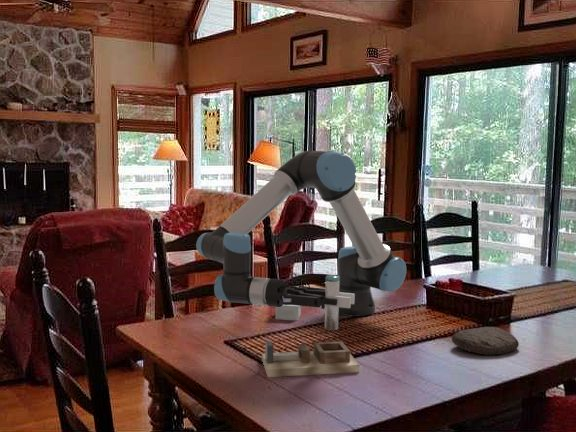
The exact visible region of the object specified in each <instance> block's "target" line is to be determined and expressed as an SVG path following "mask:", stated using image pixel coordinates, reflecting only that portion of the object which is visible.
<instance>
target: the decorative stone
mask: <svg viewBox="0 0 576 432" xmlns="http://www.w3.org/2000/svg"><path fill="white" fill-rule="evenodd" d="M451 341H452V343H453V344H454V345H455V346H457V348H459V349H461V350H465V351H467V352H471V353H475V354H479V355H485V356H486V355H487V356H488V355H489V356H490V355H501V354H507V353H509V352H510V353H511V352H513V351H515V350H516V349H517V348H519V345H520V344H519V341H518V339H517V338H516V337H515V336H514V335H513V334H512V333H510V332H508V331H506V330H505V329H502V328H499V327H495V326H483V327H482V326H481V327H475V328H468V329H463V330H460V331H459V330H458V331H457V332H455V333H453V335H452V336H451Z"/></svg>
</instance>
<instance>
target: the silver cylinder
mask: <svg viewBox="0 0 576 432" xmlns="http://www.w3.org/2000/svg"><path fill="white" fill-rule="evenodd" d="M339 278H340V277H339V276H338V275H336V274H335V275H334V274H330V275H326V276H325V289H326V291H325V298H326V295H332V296H339ZM339 315H340V314H339V307H333V306H326V304H325V308H324V329H325V330H327V331H338V330H339Z"/></svg>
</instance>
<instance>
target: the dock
mask: <svg viewBox="0 0 576 432" xmlns="http://www.w3.org/2000/svg"><path fill="white" fill-rule="evenodd" d="M297 349H298V350H297V351H288V352H285V351H283V352H273V354H282V353H298V354H299V360H287V361H273V363H267V361H266V359H265V352H264V353H263V352H262V353H261V363H262V362H263V363H262V366H263V365H264V366H263V368H264V371H265V373H266V376H267V378H277V377H280V378H283V377H296V376H312V375H313V376H314V375H331V374H348V373H351V374H352V373H360V364H359V362H358V361H357V360H356V358H355V357H354V356H353V355H352V354H351V350H350V349H349V348H348V347H347V345H346V344H345V343H344V342H343V341H326V342H313V350H310V348H309V346H308V345H307V343H305V342H304V343H298V348H297Z"/></svg>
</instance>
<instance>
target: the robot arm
mask: <svg viewBox="0 0 576 432" xmlns="http://www.w3.org/2000/svg"><path fill="white" fill-rule="evenodd" d="M356 173H357V167H356V164H355V162H354V160H353V159H352V158H351V156H349V155H348V154H346V153H345V152H341V151H337V150H327V151H326V150H325V151H324V150H305V151H302V152H301V153H300V152H299V153H298V154H296V155H295V156H293V157H292V158H290V159H289V160H287V161H286V162H285V163H284V164H282V165H280V167H279V168H278V169H277V170H276V171H275V172H274V173H273V178H272V179H270V180H269V181H268V182H266V184H265V185H263V186H262V188H261V189H259V190H258V191H257V192H256V193H255V194H254V195H253V196H251V197H250V198H249V199H247V201H246V202H244V203H243V204H242V205H241V206H240V207H239V208H238V209H237V210H236V211H235V212H234V213H232V214H231V215H230V216H229V217H228V218H227V219H226V220H224V221H223V222H222V223H221V224H220V225H219V226H217V227H216V228H215V229H214V230H213V231H212V232H204V233H202V234H201V235H200V236H199V237H198V238H197V240H196V242H195V243H196V244H195V247H196V248H195V249H196V251H197V253H198V254H199V255H200V256H202V257H203V258H206V259H208V260H212V261H214V262H218V263H221V264H222V265H223V273H220V274H218V275H217V276H216V279H215V280H214V285H213V291H214V292H213V293H214V295H215V297H216V298H217V300H219V301H223V302H224V301H225V302H228V303H237V304H238V303H239V304H248V305H249V304H250V305H257V307H259V308H261V307H262V306H269V307H272V308H276V307H281V306H282V305H298V306H301V307H310V308H321V309H322V310H323V309H324V310H325V304H326V306H333V307H339V315H343V316H350V317H362V316H368V315H369V316H370V315H372V314H375V312H376V305H375V299H374V297H373V294H372V290H371V288H374V289H376V290H380V291H383V292H392V293H393V292H395V291H396V290H399V288H400V287H401V286H402V285H403V283H404V281H405V279H406V276H407V265H406V261H405V260H404V259H402V258H401V257H399V256H395V255H394V254H393V252H392V250H391V248H390V246H389V245H388V244H386V243H383V242H382V240H381V238H380V237H379V235H378V233H377V230H376V229H375V227H374V225H373V223H372V222H371V220H370V218H369V215H368V214H367V212H366V210H365V208H364V206H363V205H362V202H361V201H360V199H359V196H358V194H357V192H356V190H355V187H356V185H357V184H356V180H357V179H356V177H357V175H356ZM308 188H312V189H315V190H316V191H317V192H318V194H319V196H320V198H321V200H322V201H323V202H326V203H330V206H331V207H332V209H333V211H334V213H335V215H336V216H337V218H338V220H339V222H340V224H341V226H342V227H343V230H344V231H345V233H346V235H347V236H348V238H349V240H350V242H351V244H352V246H345V247H342V248H339V250H338V257H337V276H339V277H340V278H339V296H332V295H326V298H325V291H326V288H323V287H316V286H315V287H314V286H313V287H312V286H305V285H302V284H299V285H297V286H296V285H290V287H289V286H287V285H286V282H285V280H283V279H280V278H279V279H278V278H268V277H259V276H251V259H252V258H251V256H252V255H251V253H252V245H251V235H250V234H249V233H251V231H253V230H254V229H255V228H256V227H257V226H258V225H259V224H260V223H261V222H262V221H263V220H264V219H266V217H268V216H270V214H271V213H273V212H274V210H276V208H278V207H279V206H280V205H281V204H282V203H283V202H284V201H286V199H287V198H288V197H290V196H296V195H297V193H299V192H300V191H301V190H304V189H308Z"/></svg>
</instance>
